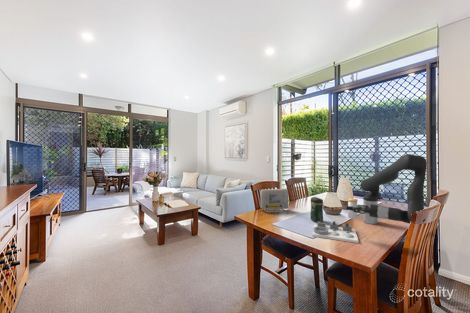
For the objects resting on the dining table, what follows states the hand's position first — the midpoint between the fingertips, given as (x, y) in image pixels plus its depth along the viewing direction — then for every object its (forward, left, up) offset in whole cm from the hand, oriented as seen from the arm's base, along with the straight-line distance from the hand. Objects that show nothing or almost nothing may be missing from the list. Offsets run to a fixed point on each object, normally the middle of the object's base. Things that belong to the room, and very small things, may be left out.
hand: (348, 206), depth 133 cm
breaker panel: (0, -8, -19) cm, 21 cm away
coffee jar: (-23, -20, -19) cm, 36 cm away
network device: (-38, -58, -19) cm, 72 cm away
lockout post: (+1, +3, -7) cm, 7 cm away
